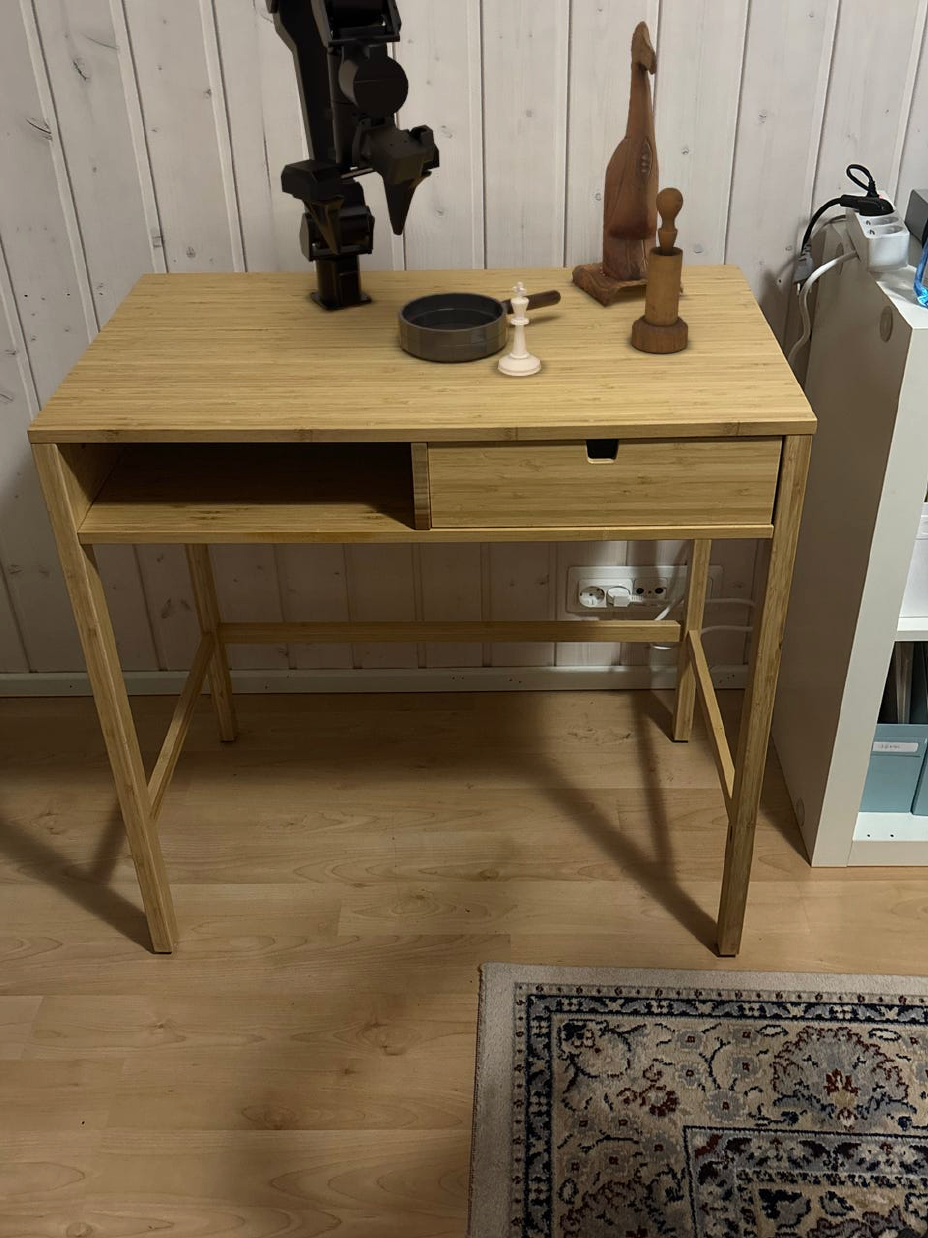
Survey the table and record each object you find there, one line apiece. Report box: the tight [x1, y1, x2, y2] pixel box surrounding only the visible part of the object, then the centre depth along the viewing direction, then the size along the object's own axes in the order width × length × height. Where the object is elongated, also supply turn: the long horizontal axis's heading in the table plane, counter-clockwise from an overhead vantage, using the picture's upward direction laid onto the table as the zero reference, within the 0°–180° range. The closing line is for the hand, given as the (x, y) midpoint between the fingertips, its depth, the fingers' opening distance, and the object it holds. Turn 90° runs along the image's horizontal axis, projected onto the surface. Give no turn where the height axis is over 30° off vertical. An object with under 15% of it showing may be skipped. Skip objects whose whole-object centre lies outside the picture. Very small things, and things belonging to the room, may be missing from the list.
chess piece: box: [497, 281, 542, 377], centre depth 133 cm, size 5×5×10 cm
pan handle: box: [494, 289, 562, 316], centre depth 145 cm, size 9×2×2 cm, turn 118°
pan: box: [397, 291, 509, 363], centre depth 141 cm, size 13×13×4 cm
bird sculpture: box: [571, 20, 684, 305], centre depth 147 cm, size 11×12×32 cm
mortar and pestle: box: [630, 187, 689, 354], centre depth 136 cm, size 7×6×18 cm
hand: (367, 243), depth 135 cm, fingers open, 9 cm apart
